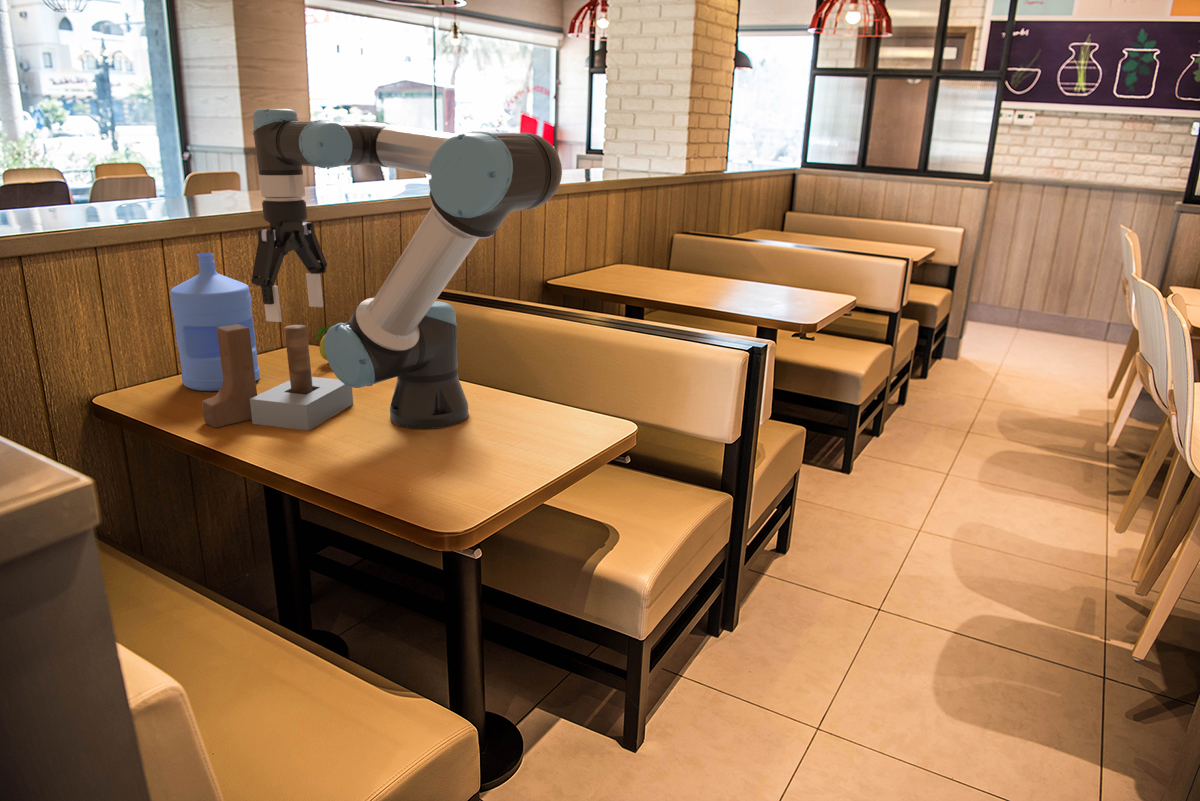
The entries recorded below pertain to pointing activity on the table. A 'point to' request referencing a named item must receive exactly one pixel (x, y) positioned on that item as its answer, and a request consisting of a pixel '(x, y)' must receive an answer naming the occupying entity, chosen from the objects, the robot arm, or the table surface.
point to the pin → (298, 359)
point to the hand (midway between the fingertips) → (296, 313)
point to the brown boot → (233, 379)
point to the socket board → (301, 404)
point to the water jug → (208, 323)
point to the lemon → (322, 341)
